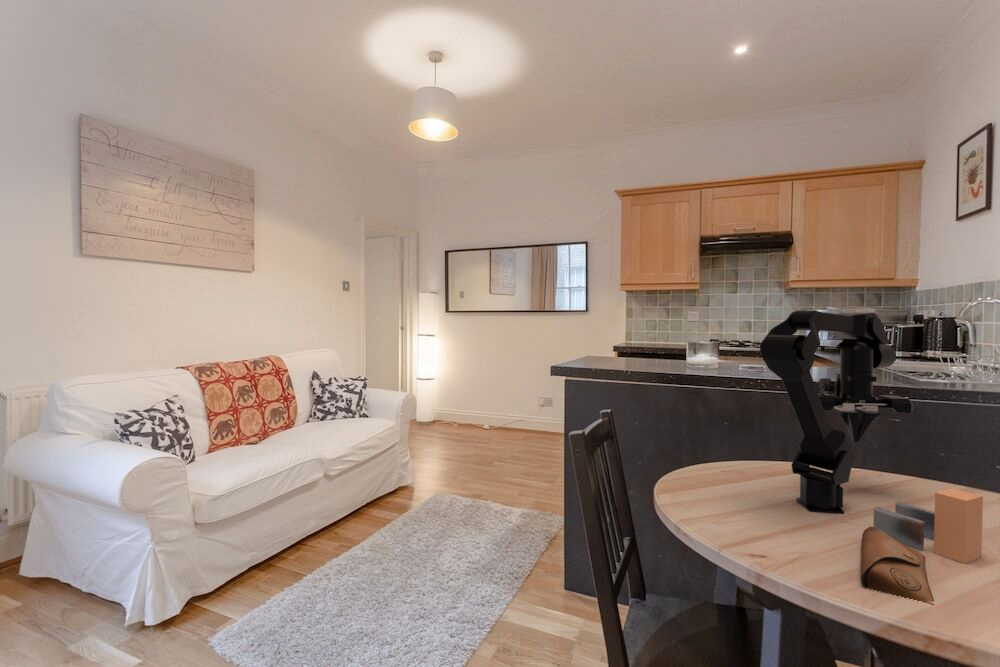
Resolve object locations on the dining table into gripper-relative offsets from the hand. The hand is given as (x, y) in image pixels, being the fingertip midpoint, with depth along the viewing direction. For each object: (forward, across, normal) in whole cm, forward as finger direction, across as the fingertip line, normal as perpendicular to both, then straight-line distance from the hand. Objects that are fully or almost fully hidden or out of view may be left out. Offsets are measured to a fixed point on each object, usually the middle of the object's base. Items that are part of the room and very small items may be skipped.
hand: (854, 442), depth 104 cm
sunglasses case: (+13, +10, +33) cm, 37 cm away
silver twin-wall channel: (+12, +1, +21) cm, 24 cm away
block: (+12, -3, +26) cm, 29 cm away
